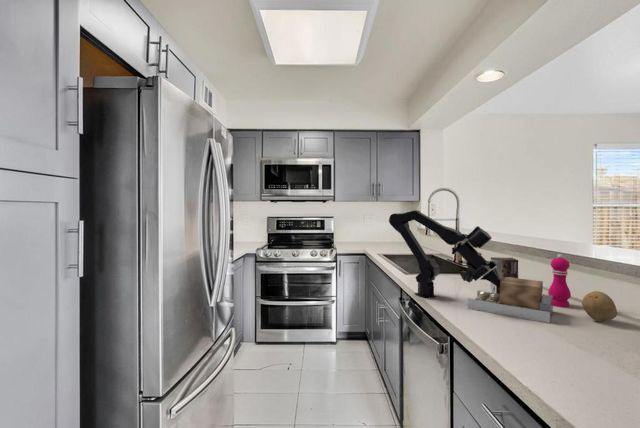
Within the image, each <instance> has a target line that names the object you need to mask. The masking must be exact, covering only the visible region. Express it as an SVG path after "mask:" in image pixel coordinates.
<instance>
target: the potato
mask: <svg viewBox="0 0 640 428" xmlns="http://www.w3.org/2000/svg"><path fill="white" fill-rule="evenodd" d="M581 305H582V308H583V310H584V312H586V314H587V315H588V316H589V317H590V319H592V320H593V321H595V322H599V323H603V322H605V321H610V320H613V319H615V318H616V317H617V316H618V311H617V307H616V305H615V302H614V301H613V299H612V298H611V297H610V296H609V295H608V294H606V293H605V292H604V291H603V292H602V291H597V290H596V291H594V290H593V291H591V292H589V293H587V294H586V295H584V297H583V298H582V300H581Z"/></svg>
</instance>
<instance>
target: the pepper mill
mask: <svg viewBox="0 0 640 428" xmlns="http://www.w3.org/2000/svg"><path fill="white" fill-rule="evenodd" d="M563 257H564V256H563V254H562V253H557V257H556V258H553V259H552V260H551V261H550V266H551V268H552V272H551V274H552V275H553V280H552V283H551V285H550V286H549V288H548V292H547V295H552V296H553V306H554V307H558V308H568V307H569V306H570V301H569V299H571V297H572V294H571V291H570V288H569V286H568V284H567V283H568V282H567V276H568V270H569V269H570V262H569V261H568V260H567V259H566V258H563Z"/></svg>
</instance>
